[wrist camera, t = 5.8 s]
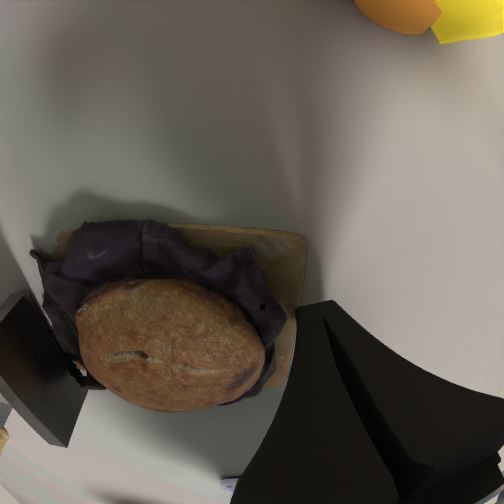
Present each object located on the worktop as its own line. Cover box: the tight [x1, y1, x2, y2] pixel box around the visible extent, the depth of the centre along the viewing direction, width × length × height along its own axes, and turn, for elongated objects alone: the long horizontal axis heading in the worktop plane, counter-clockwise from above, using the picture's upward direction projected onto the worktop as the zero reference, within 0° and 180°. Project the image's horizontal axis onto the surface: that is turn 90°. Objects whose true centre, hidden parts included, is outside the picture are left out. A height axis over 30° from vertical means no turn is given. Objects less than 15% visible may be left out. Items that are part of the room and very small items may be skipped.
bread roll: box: [30, 219, 307, 413], centre depth 10 cm, size 11×8×4 cm
